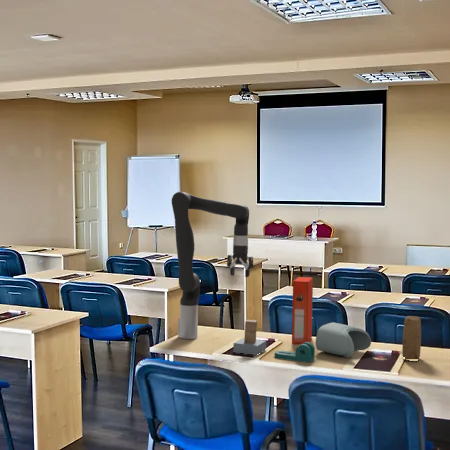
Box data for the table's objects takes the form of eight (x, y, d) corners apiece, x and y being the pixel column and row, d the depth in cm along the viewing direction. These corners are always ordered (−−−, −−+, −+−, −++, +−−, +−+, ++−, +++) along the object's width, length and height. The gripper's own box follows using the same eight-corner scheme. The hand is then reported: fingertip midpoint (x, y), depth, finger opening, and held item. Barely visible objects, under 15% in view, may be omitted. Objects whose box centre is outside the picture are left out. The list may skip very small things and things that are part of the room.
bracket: (314, 359, 297) (314, 342, 297) (309, 363, 291) (310, 345, 291) (277, 354, 305) (278, 338, 304) (272, 357, 299) (272, 341, 298)
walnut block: (245, 340, 312) (246, 319, 311) (255, 340, 311) (256, 320, 310) (244, 342, 307) (245, 321, 306) (254, 343, 306) (255, 322, 305)
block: (417, 363, 295) (419, 319, 294) (400, 361, 298) (402, 317, 297) (421, 357, 304) (423, 315, 303) (405, 355, 308) (407, 314, 307)
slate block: (233, 353, 306) (233, 342, 306) (242, 348, 317) (243, 337, 317) (257, 356, 301) (257, 345, 301) (265, 351, 312) (266, 340, 312)
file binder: (291, 344, 326) (293, 280, 324) (296, 336, 342) (298, 276, 341) (307, 345, 324) (309, 281, 322) (311, 338, 340) (313, 277, 339)
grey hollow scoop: (335, 345, 324) (337, 320, 323) (370, 353, 314) (372, 327, 312) (314, 354, 307) (316, 327, 305) (351, 362, 296) (353, 335, 295)
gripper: (224, 243, 328) (223, 275, 329) (248, 245, 321) (248, 278, 322) (232, 243, 335) (231, 274, 336) (256, 244, 327) (255, 276, 328)
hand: (239, 276), depth 329 cm, fingers open, 8 cm apart
